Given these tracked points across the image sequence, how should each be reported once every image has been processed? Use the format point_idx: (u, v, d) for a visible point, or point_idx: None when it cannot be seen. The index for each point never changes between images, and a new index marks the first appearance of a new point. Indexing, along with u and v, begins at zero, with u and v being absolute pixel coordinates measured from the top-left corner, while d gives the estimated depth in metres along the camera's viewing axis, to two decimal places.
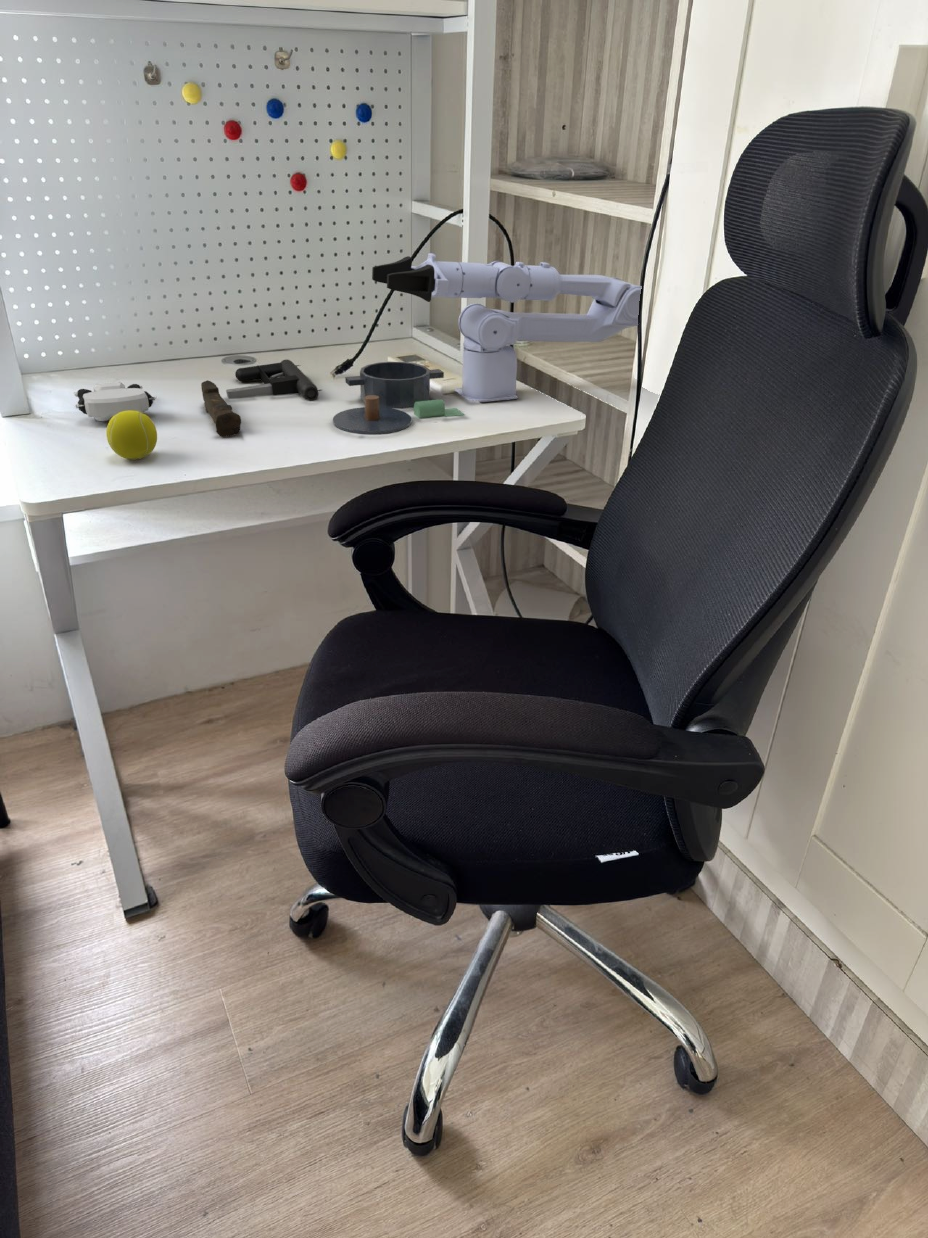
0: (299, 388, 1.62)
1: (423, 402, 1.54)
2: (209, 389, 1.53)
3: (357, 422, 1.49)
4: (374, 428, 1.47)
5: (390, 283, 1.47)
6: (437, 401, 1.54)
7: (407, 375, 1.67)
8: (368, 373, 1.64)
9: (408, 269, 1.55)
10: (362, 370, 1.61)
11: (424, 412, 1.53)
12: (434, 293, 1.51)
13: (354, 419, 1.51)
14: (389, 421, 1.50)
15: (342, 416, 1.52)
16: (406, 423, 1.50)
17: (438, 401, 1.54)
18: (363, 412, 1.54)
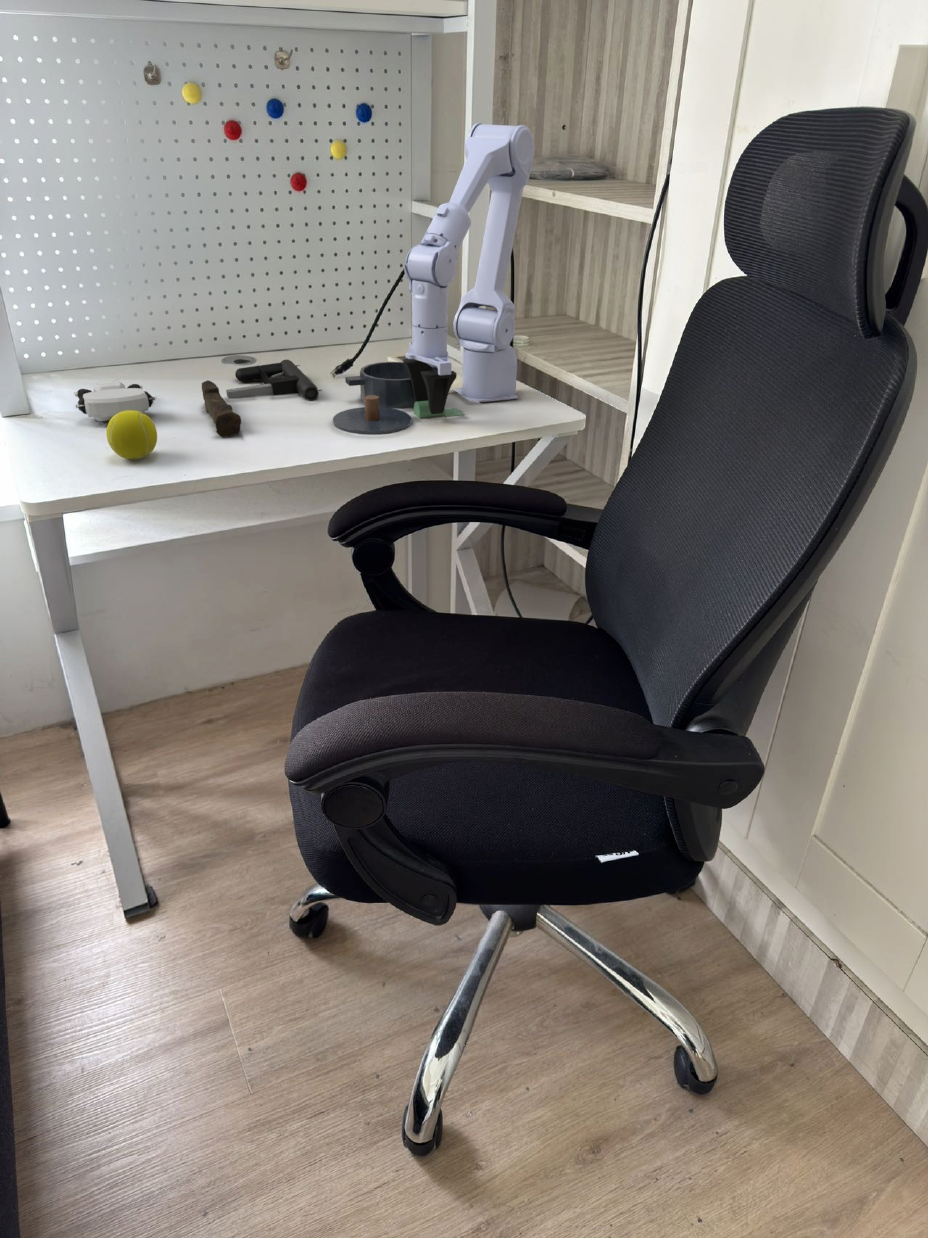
0: (299, 388, 1.62)
1: (423, 402, 1.54)
2: (209, 389, 1.53)
3: (357, 422, 1.49)
4: (374, 428, 1.47)
5: (439, 411, 1.52)
6: None
7: (407, 375, 1.67)
8: (368, 373, 1.64)
9: (417, 365, 1.54)
10: (362, 370, 1.61)
11: (424, 412, 1.53)
12: None
13: (354, 419, 1.51)
14: (389, 421, 1.50)
15: (342, 416, 1.52)
16: (406, 423, 1.50)
17: None
18: (363, 412, 1.54)
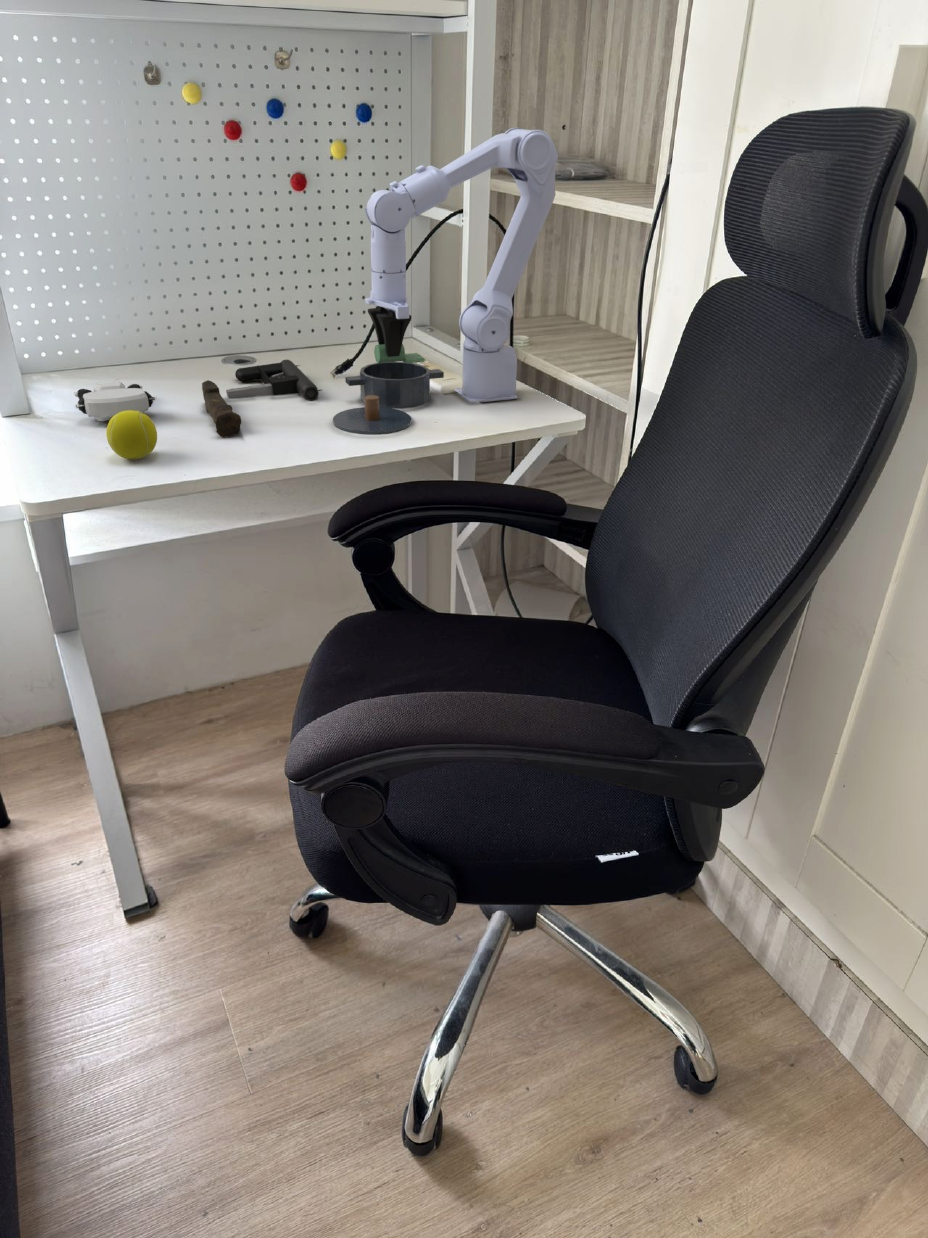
0: (299, 388, 1.62)
1: (383, 346, 1.56)
2: (209, 389, 1.53)
3: (357, 422, 1.49)
4: (374, 428, 1.47)
5: (395, 354, 1.56)
6: None
7: (407, 375, 1.67)
8: (368, 373, 1.64)
9: (381, 314, 1.56)
10: (362, 370, 1.61)
11: (384, 354, 1.56)
12: None
13: (354, 419, 1.51)
14: (389, 421, 1.50)
15: (342, 416, 1.52)
16: (406, 423, 1.50)
17: None
18: (363, 412, 1.54)
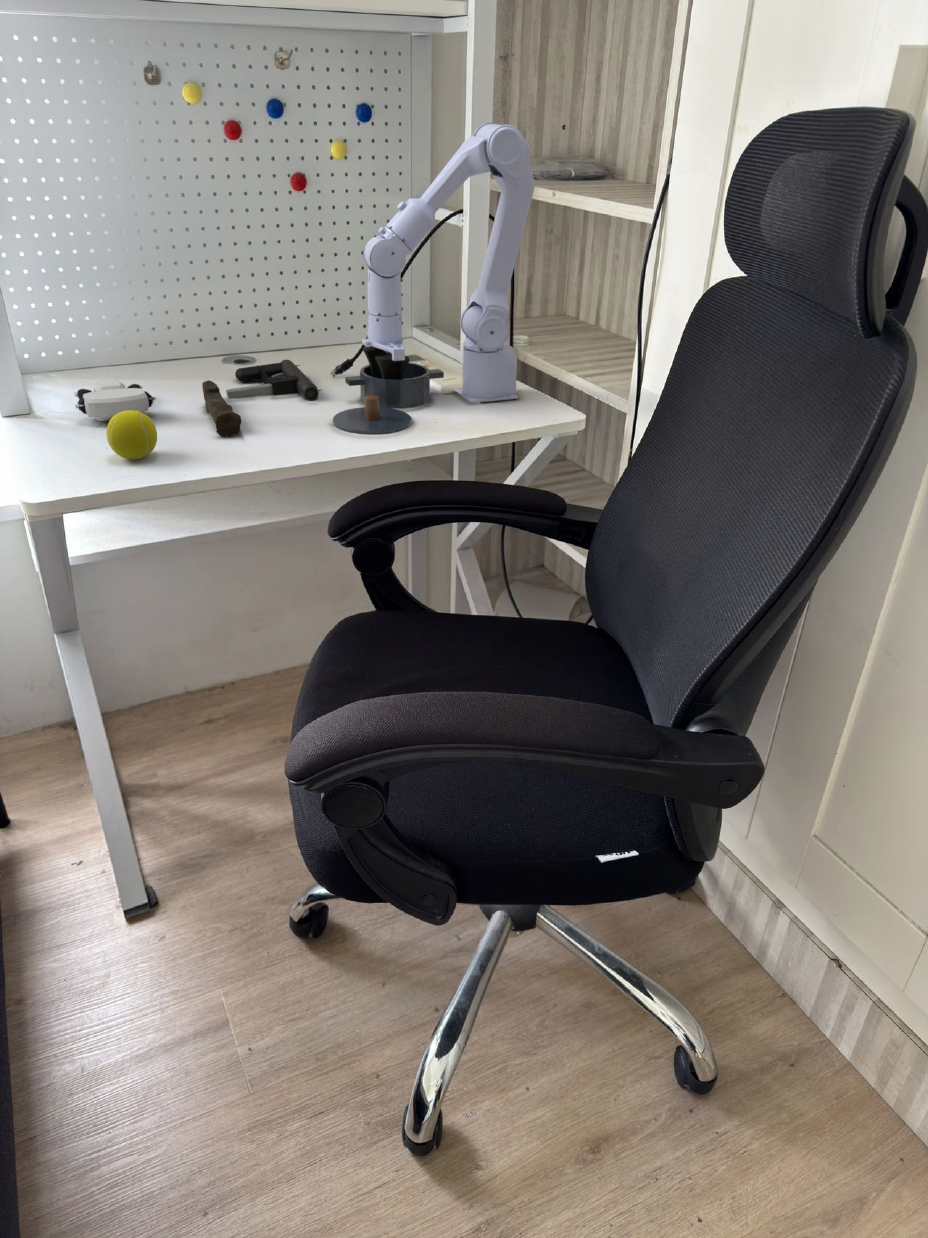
0: (299, 388, 1.62)
1: None
2: (210, 389, 1.53)
3: (357, 422, 1.49)
4: (374, 428, 1.47)
5: None
6: None
7: (407, 375, 1.67)
8: (368, 373, 1.64)
9: (376, 352, 1.61)
10: (362, 370, 1.61)
11: None
12: None
13: (354, 419, 1.51)
14: (389, 421, 1.50)
15: (342, 416, 1.52)
16: (406, 423, 1.50)
17: None
18: (363, 412, 1.54)
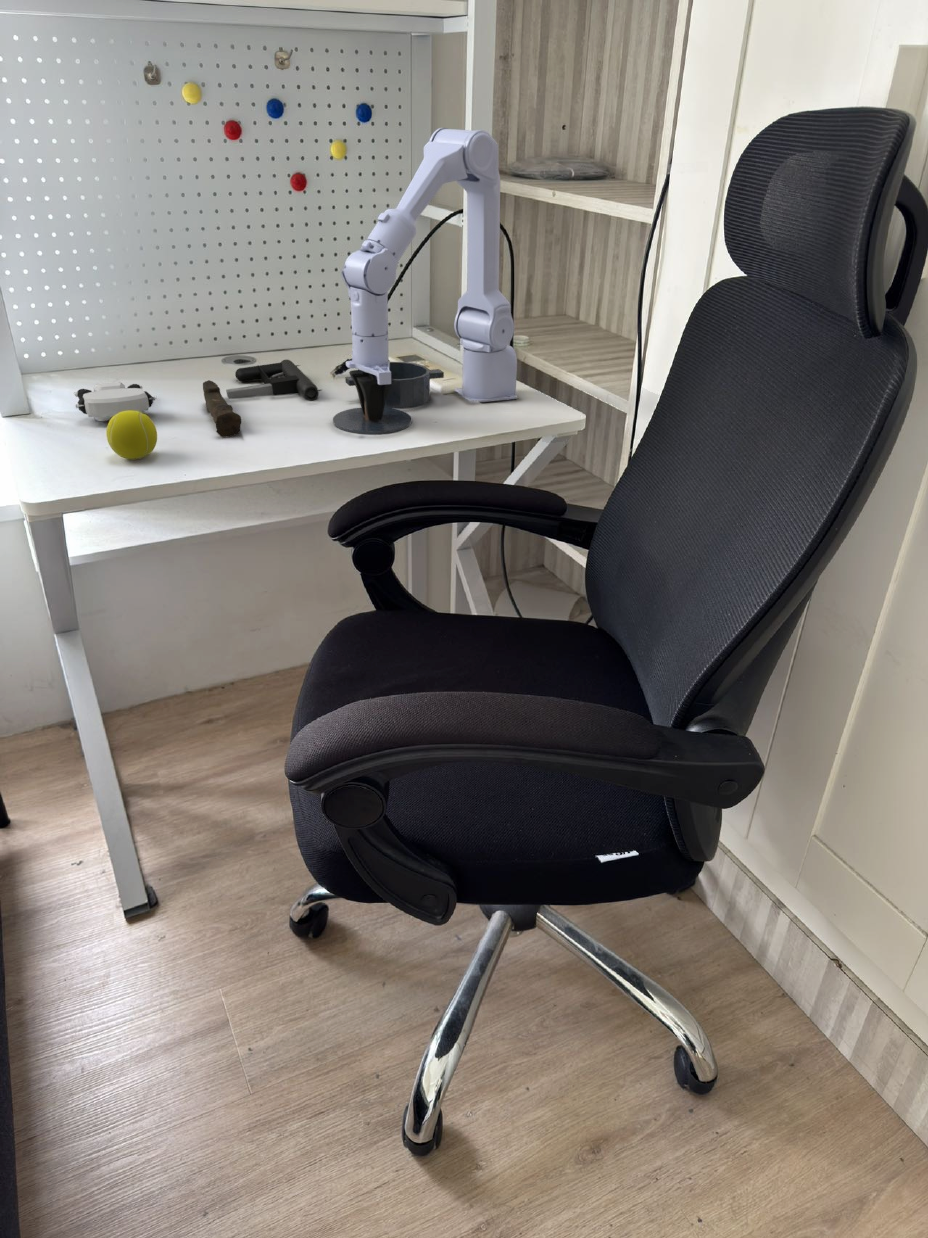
0: (299, 388, 1.62)
1: None
2: (210, 389, 1.53)
3: (357, 422, 1.49)
4: (374, 428, 1.47)
5: (377, 417, 1.50)
6: None
7: (407, 375, 1.67)
8: None
9: (363, 377, 1.49)
10: None
11: None
12: (388, 370, 1.45)
13: (354, 419, 1.51)
14: (389, 421, 1.50)
15: (342, 416, 1.52)
16: (406, 423, 1.50)
17: None
18: None
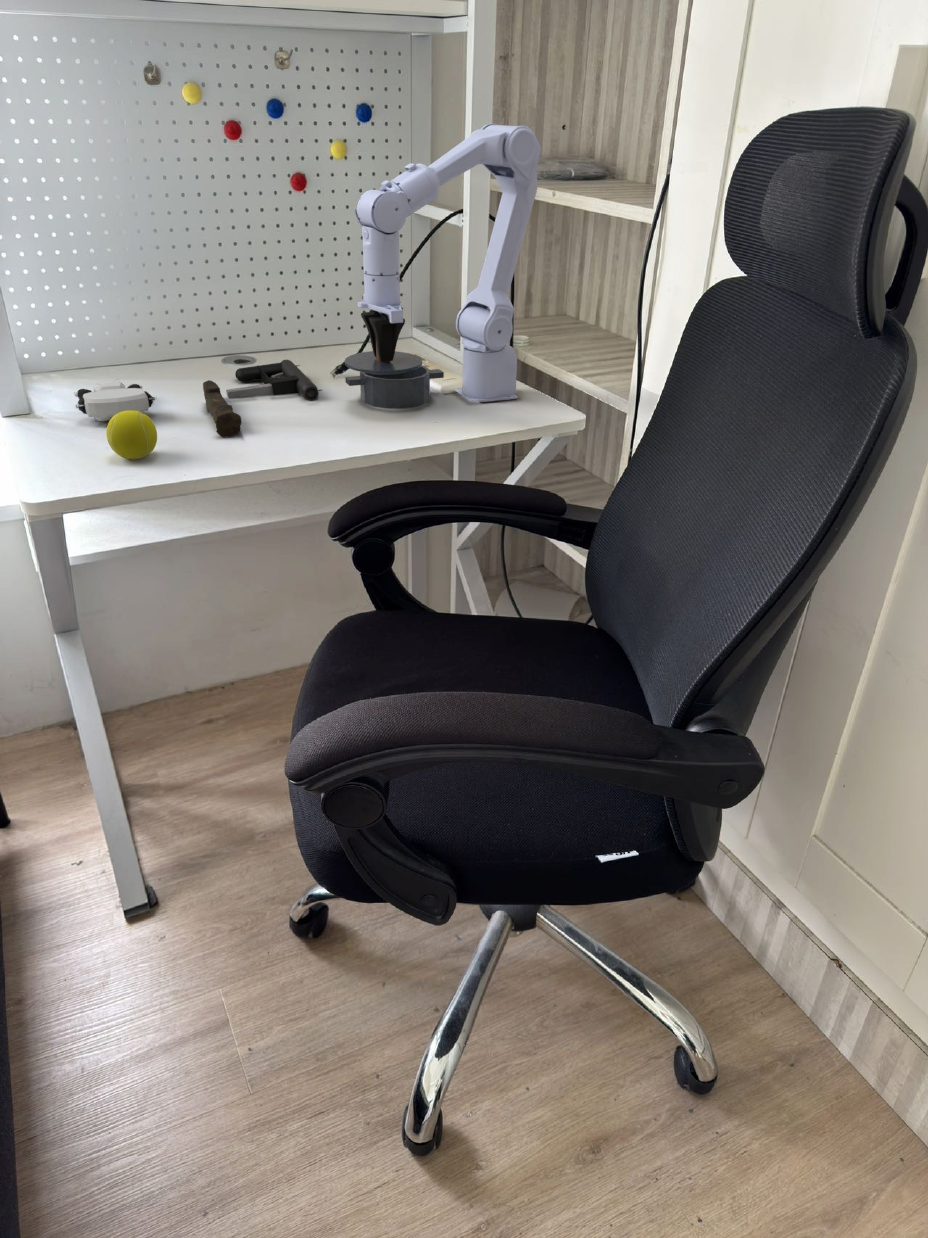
0: (299, 388, 1.62)
1: None
2: (210, 389, 1.53)
3: (369, 363, 1.51)
4: (386, 368, 1.49)
5: (388, 358, 1.51)
6: None
7: (407, 375, 1.67)
8: None
9: None
10: None
11: None
12: None
13: (366, 361, 1.53)
14: (400, 363, 1.52)
15: (354, 358, 1.54)
16: (417, 364, 1.51)
17: None
18: None
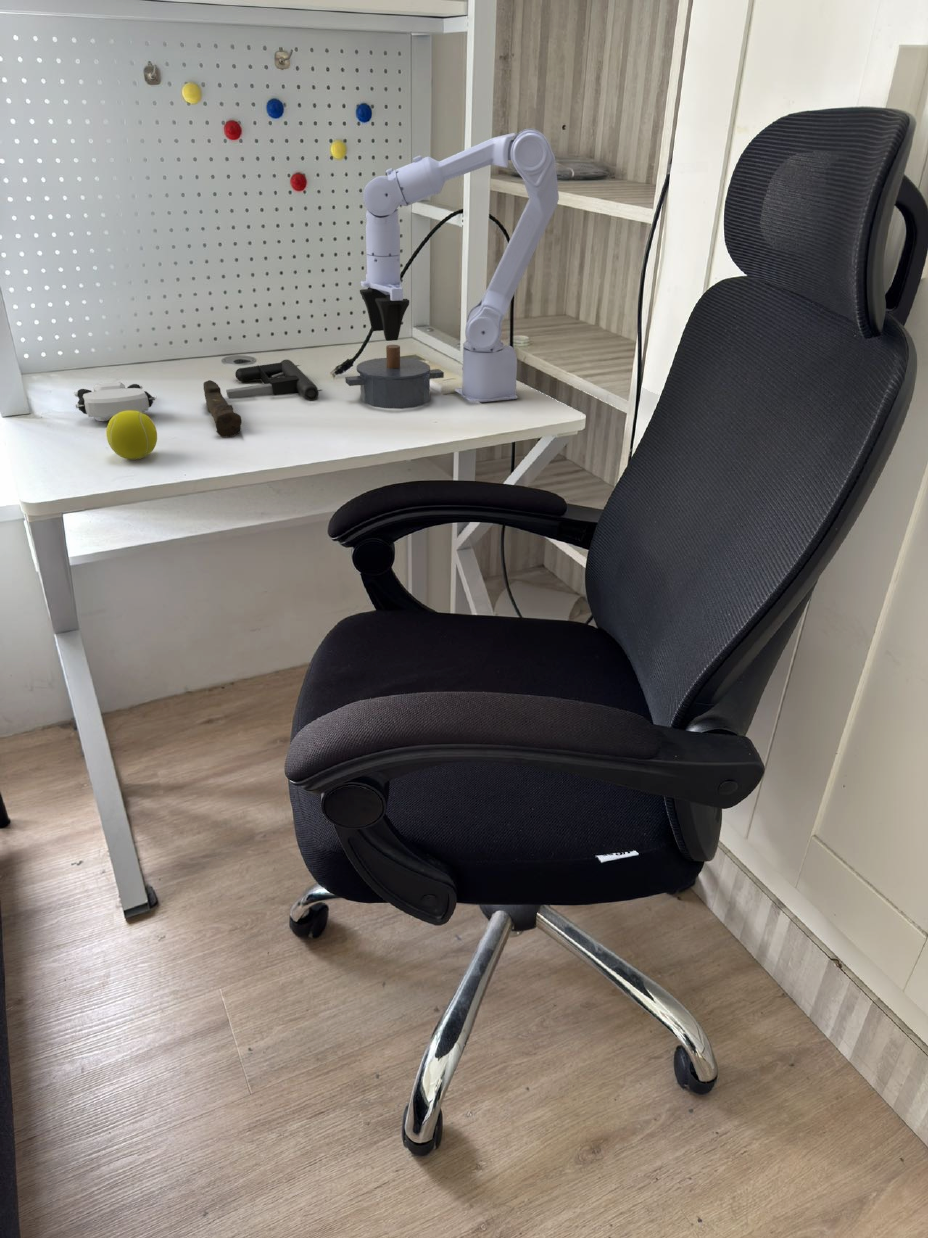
0: (299, 388, 1.62)
1: None
2: (210, 389, 1.53)
3: (379, 370, 1.59)
4: (395, 374, 1.57)
5: (393, 338, 1.59)
6: None
7: None
8: None
9: (372, 294, 1.62)
10: None
11: None
12: None
13: (377, 367, 1.61)
14: (409, 369, 1.60)
15: (365, 364, 1.62)
16: (425, 371, 1.59)
17: None
18: (384, 362, 1.64)
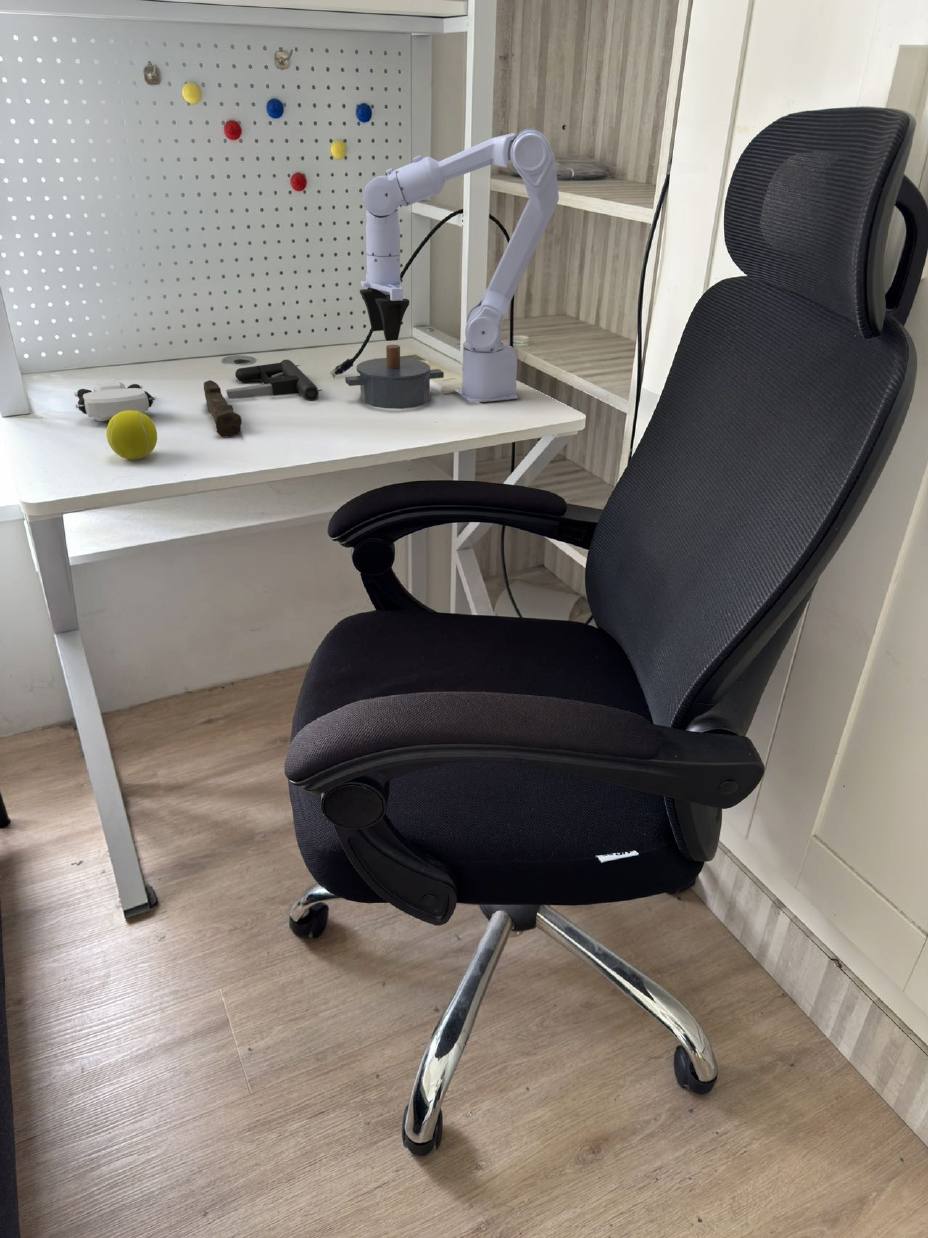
0: (299, 388, 1.62)
1: None
2: (211, 389, 1.53)
3: (379, 370, 1.59)
4: (395, 374, 1.57)
5: (393, 338, 1.59)
6: None
7: None
8: None
9: (372, 294, 1.62)
10: None
11: None
12: None
13: (377, 367, 1.61)
14: (409, 369, 1.60)
15: (365, 364, 1.62)
16: (425, 371, 1.59)
17: None
18: (384, 362, 1.64)
